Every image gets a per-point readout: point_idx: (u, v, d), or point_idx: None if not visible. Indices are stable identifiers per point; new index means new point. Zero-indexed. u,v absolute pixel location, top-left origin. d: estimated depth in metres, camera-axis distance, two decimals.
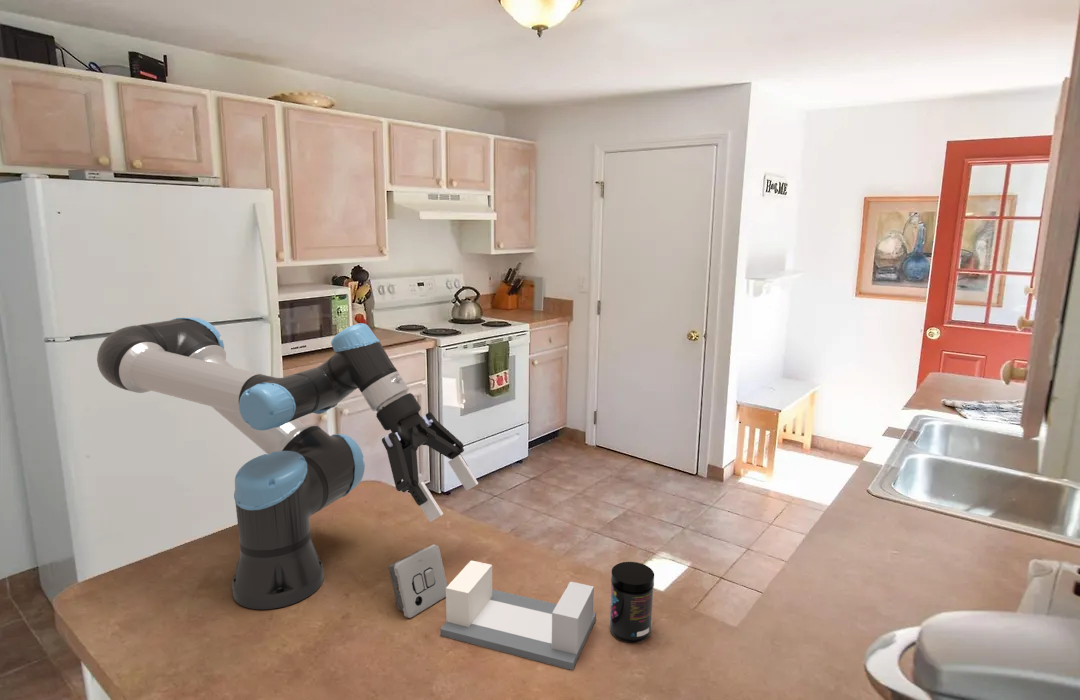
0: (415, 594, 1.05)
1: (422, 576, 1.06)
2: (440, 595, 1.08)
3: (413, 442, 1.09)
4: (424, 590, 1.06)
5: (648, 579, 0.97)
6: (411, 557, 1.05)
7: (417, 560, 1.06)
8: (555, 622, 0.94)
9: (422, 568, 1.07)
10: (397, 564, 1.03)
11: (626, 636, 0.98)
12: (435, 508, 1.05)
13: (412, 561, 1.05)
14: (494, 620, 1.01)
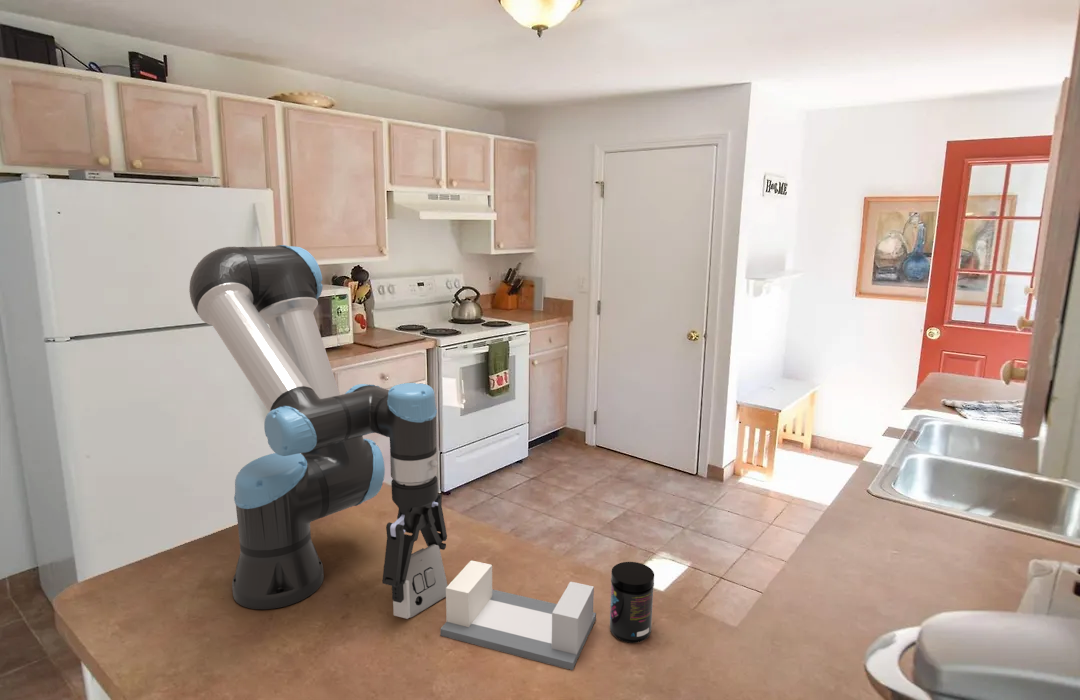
0: (415, 594, 1.05)
1: (422, 576, 1.06)
2: (440, 595, 1.08)
3: (415, 535, 1.02)
4: (424, 590, 1.06)
5: (648, 579, 0.97)
6: (411, 557, 1.05)
7: (417, 560, 1.06)
8: (555, 622, 0.94)
9: (422, 568, 1.06)
10: None
11: (626, 636, 0.98)
12: (406, 610, 1.02)
13: (412, 561, 1.05)
14: (494, 620, 1.01)
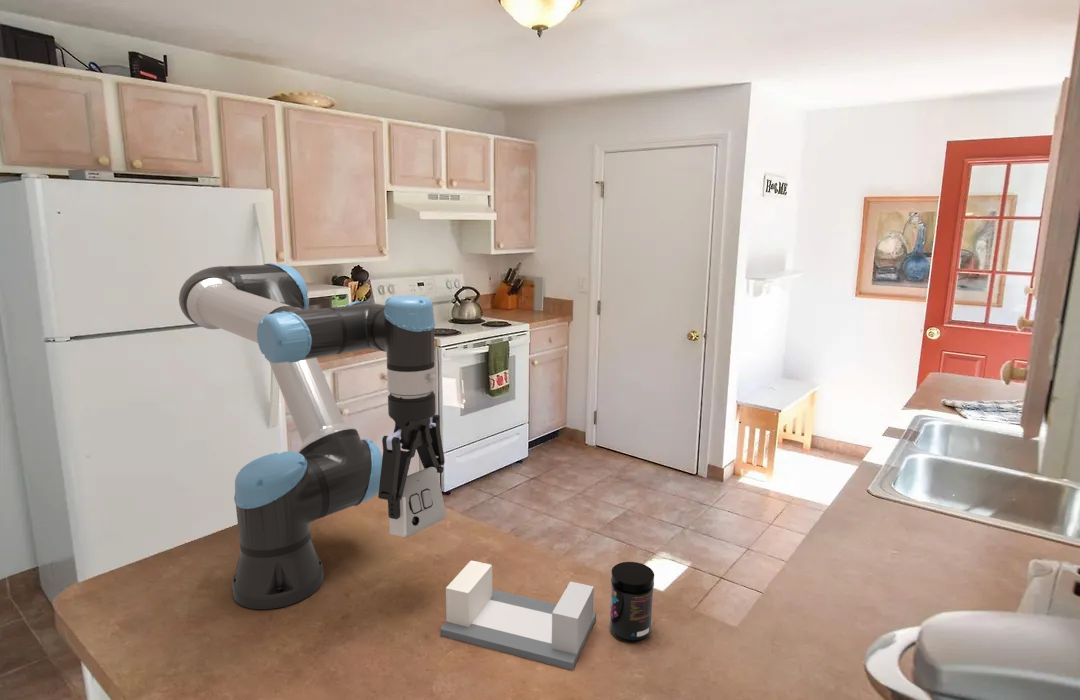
0: (412, 514, 1.02)
1: (419, 496, 1.03)
2: (437, 517, 1.06)
3: (412, 450, 0.99)
4: (421, 511, 1.03)
5: (648, 579, 0.97)
6: (408, 476, 1.03)
7: (414, 480, 1.03)
8: (555, 622, 0.94)
9: (419, 488, 1.04)
10: None
11: (626, 636, 0.98)
12: (402, 528, 1.00)
13: (409, 480, 1.02)
14: (494, 620, 1.01)
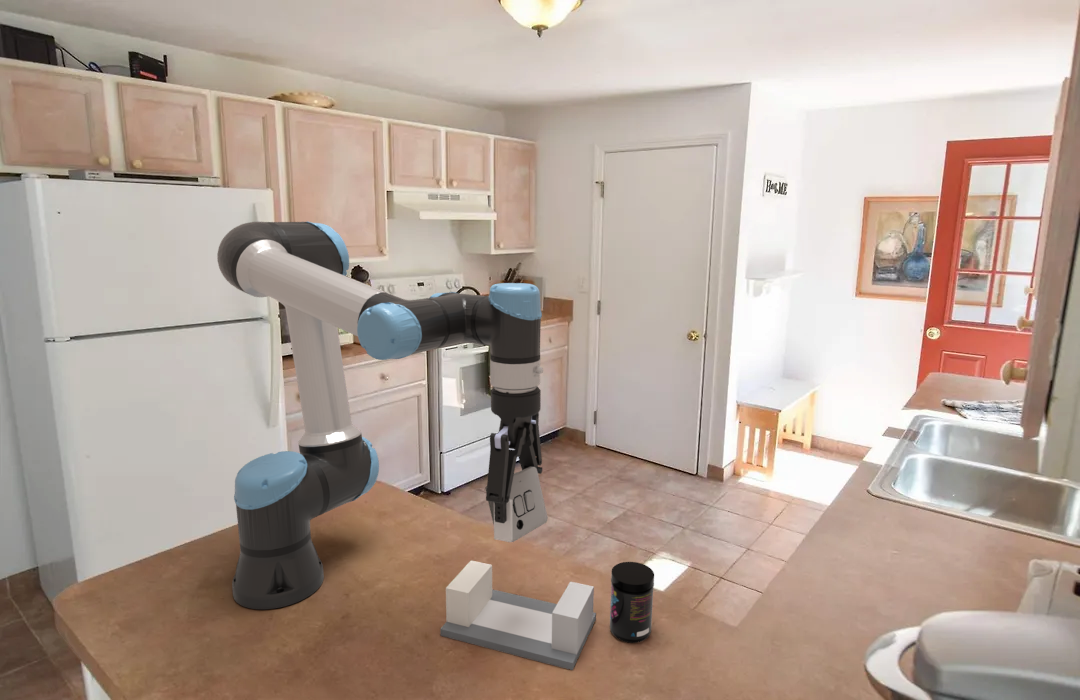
0: (516, 517, 0.95)
1: (522, 498, 0.96)
2: (540, 521, 0.99)
3: (518, 449, 0.92)
4: (525, 514, 0.96)
5: (648, 579, 0.97)
6: None
7: (517, 481, 0.96)
8: (555, 622, 0.94)
9: (522, 490, 0.97)
10: None
11: (626, 636, 0.98)
12: (509, 532, 0.93)
13: None
14: (494, 620, 1.01)
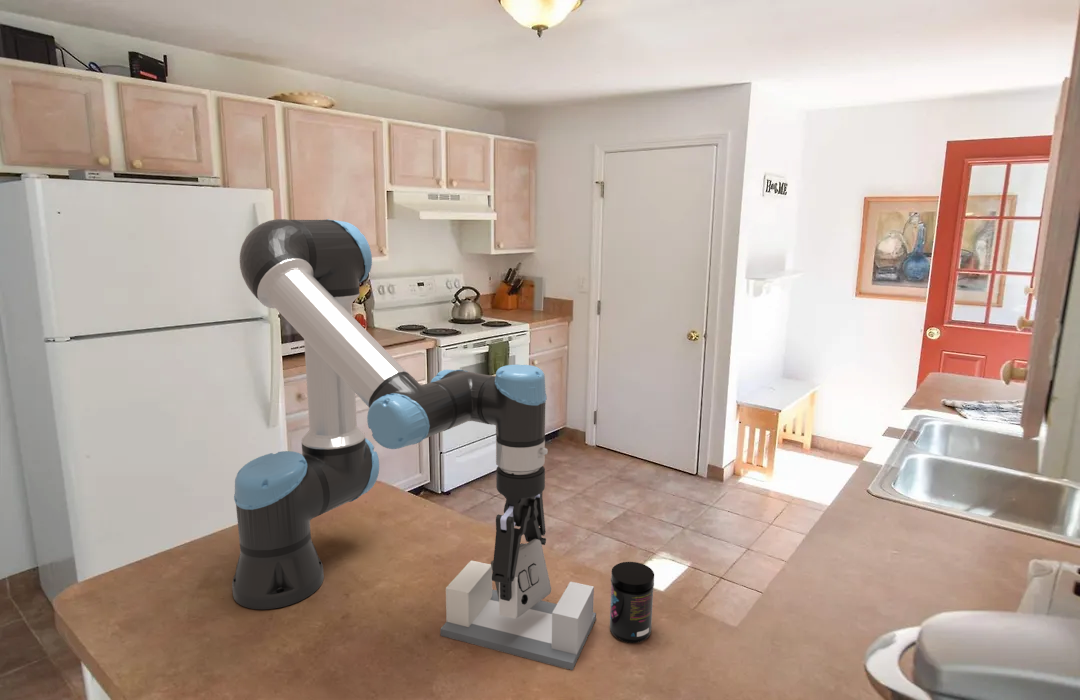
0: (521, 592, 0.97)
1: (527, 573, 0.99)
2: (544, 593, 1.01)
3: (523, 528, 0.95)
4: (529, 588, 0.99)
5: (648, 579, 0.97)
6: None
7: (521, 556, 0.99)
8: (555, 622, 0.94)
9: (526, 564, 0.99)
10: None
11: (626, 636, 0.98)
12: (514, 609, 0.95)
13: None
14: (494, 620, 1.01)
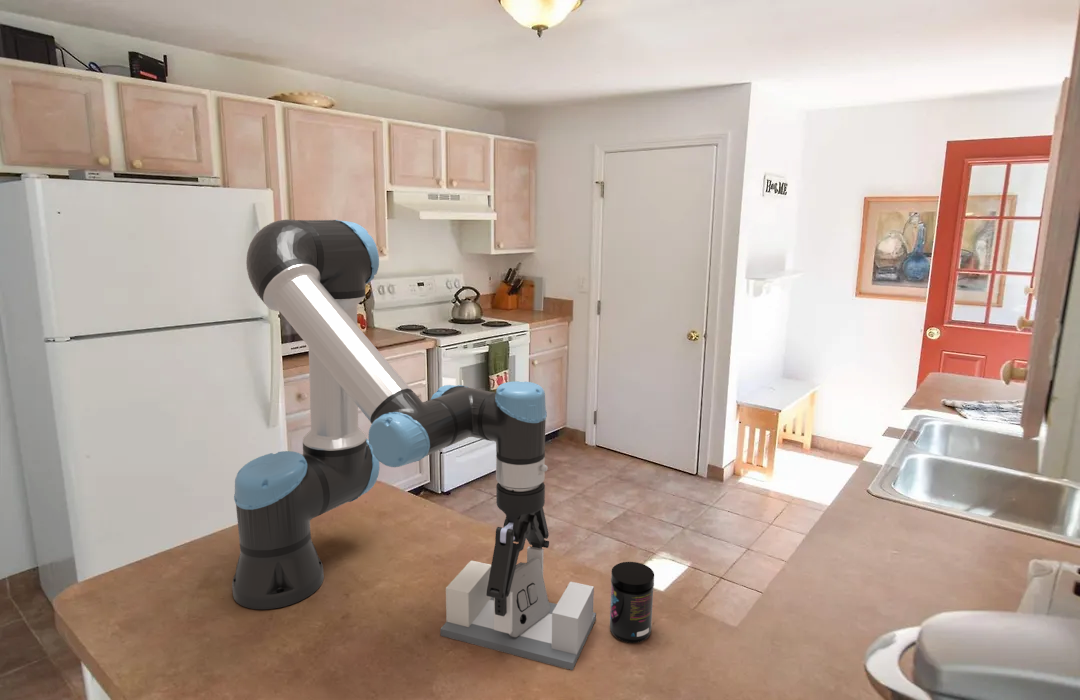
0: (520, 612, 0.98)
1: (525, 592, 1.00)
2: (542, 612, 1.02)
3: (522, 543, 0.95)
4: (528, 607, 0.99)
5: (648, 579, 0.97)
6: (514, 572, 0.99)
7: (520, 575, 0.99)
8: (555, 622, 0.94)
9: (525, 584, 1.00)
10: None
11: (626, 636, 0.98)
12: (509, 624, 0.94)
13: (516, 576, 0.99)
14: None
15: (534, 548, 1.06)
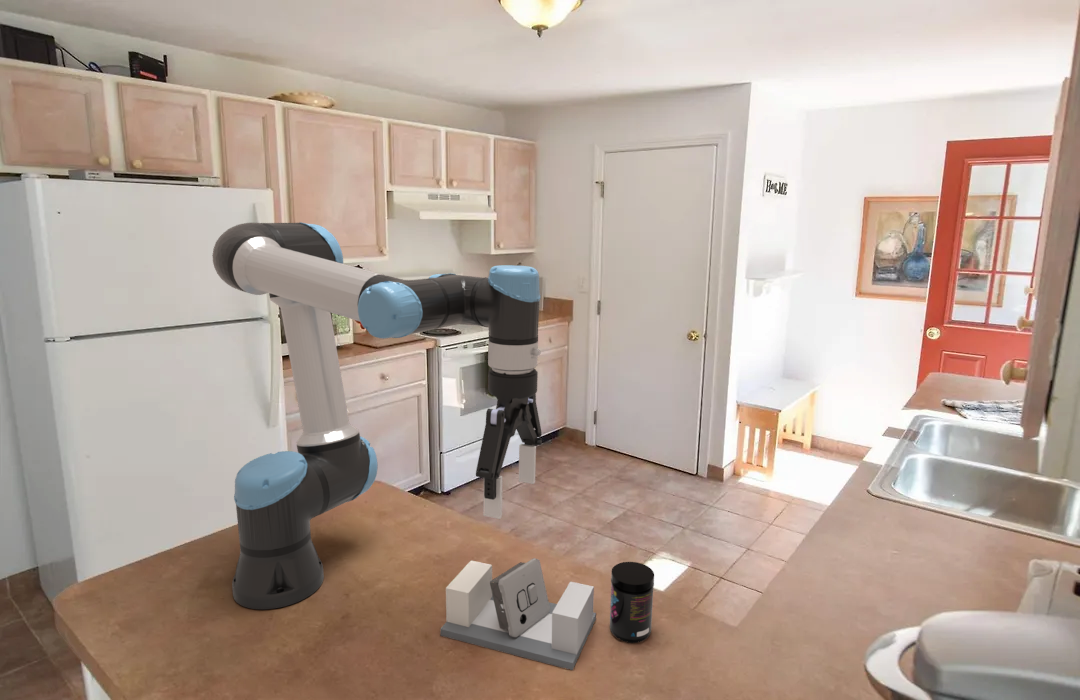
0: (520, 612, 0.98)
1: (525, 592, 1.00)
2: (542, 612, 1.02)
3: (513, 428, 0.93)
4: (528, 607, 0.99)
5: (648, 579, 0.97)
6: (514, 572, 0.99)
7: (520, 575, 0.99)
8: (555, 622, 0.94)
9: (525, 584, 1.00)
10: (502, 580, 0.97)
11: (626, 636, 0.98)
12: (498, 509, 0.92)
13: (516, 576, 0.99)
14: (494, 620, 1.01)
15: (526, 445, 1.04)
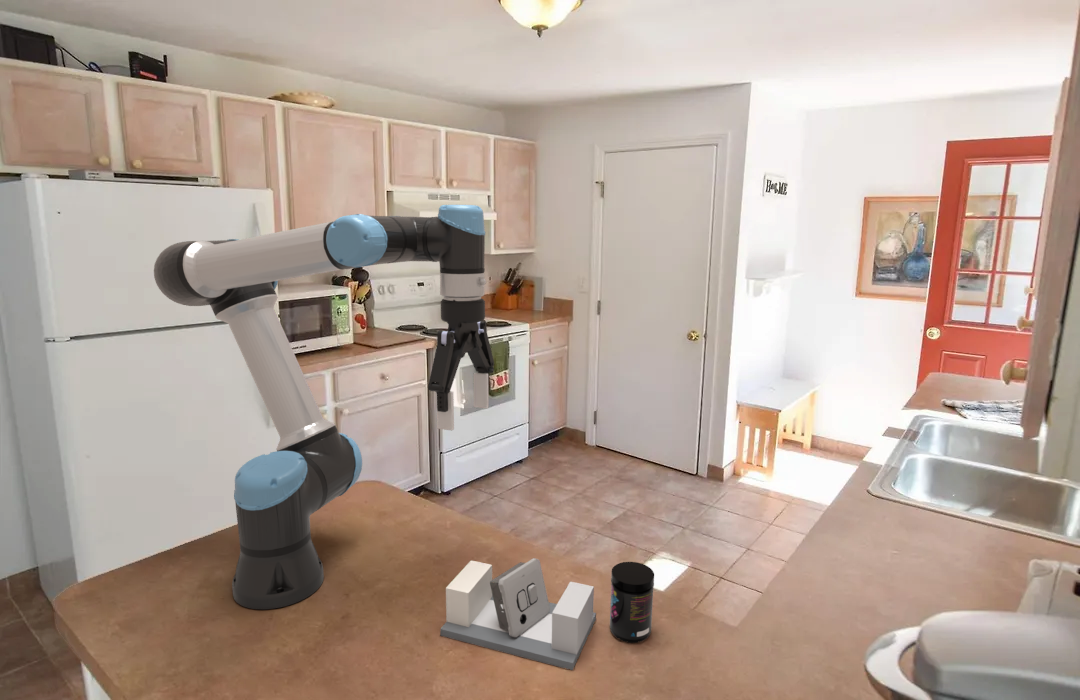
0: (520, 612, 0.98)
1: (525, 592, 1.00)
2: (542, 612, 1.02)
3: (463, 349, 1.04)
4: (528, 607, 0.99)
5: (648, 579, 0.97)
6: (514, 572, 0.99)
7: (520, 575, 0.99)
8: (555, 622, 0.94)
9: (525, 584, 1.00)
10: (502, 580, 0.97)
11: (626, 636, 0.98)
12: (450, 421, 1.03)
13: (516, 576, 0.99)
14: (494, 620, 1.01)
15: (480, 373, 1.15)
